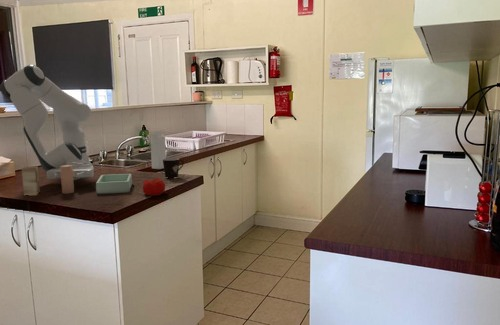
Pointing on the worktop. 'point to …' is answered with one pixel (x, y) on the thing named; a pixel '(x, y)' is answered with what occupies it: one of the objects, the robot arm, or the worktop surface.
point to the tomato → (153, 187)
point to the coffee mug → (171, 167)
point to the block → (30, 180)
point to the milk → (158, 150)
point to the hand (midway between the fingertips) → (67, 176)
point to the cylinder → (67, 179)
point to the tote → (114, 183)
